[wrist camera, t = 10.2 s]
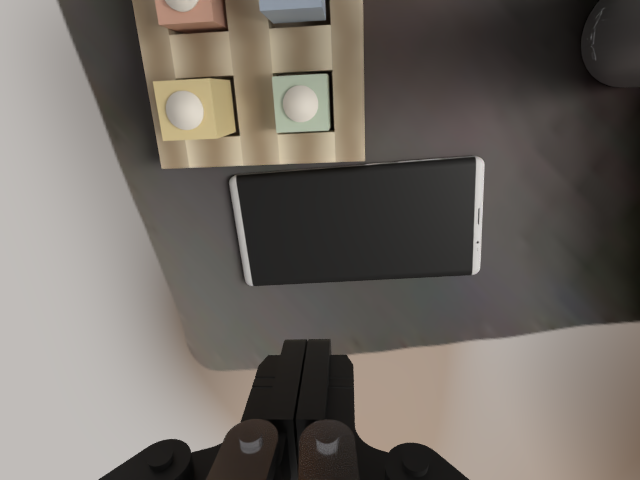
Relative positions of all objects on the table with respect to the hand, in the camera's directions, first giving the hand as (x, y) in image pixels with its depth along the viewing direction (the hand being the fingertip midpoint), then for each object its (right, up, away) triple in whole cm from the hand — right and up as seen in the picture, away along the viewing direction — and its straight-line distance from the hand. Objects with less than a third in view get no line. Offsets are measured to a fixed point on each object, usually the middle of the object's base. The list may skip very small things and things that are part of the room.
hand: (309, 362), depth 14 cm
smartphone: (+4, +6, +33) cm, 34 cm away
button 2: (-10, +16, +25) cm, 32 cm away
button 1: (-10, +26, +25) cm, 37 cm away
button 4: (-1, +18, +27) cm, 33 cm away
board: (-5, +22, +27) cm, 36 cm away
